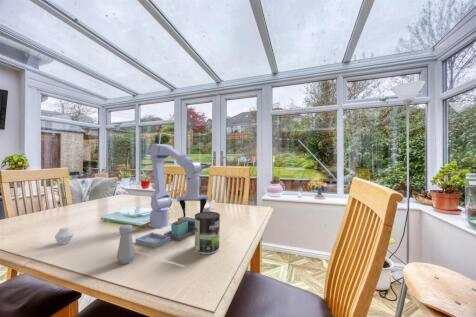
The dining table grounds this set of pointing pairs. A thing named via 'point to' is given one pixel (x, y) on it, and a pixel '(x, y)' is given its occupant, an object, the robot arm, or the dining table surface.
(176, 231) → the teal block grey face
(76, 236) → the dining table surface
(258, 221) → the dining table surface
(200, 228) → the coffee can
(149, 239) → the tray
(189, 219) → the bay
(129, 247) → the salt shaker
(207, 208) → the ink cartridge box
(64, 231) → the muffin
